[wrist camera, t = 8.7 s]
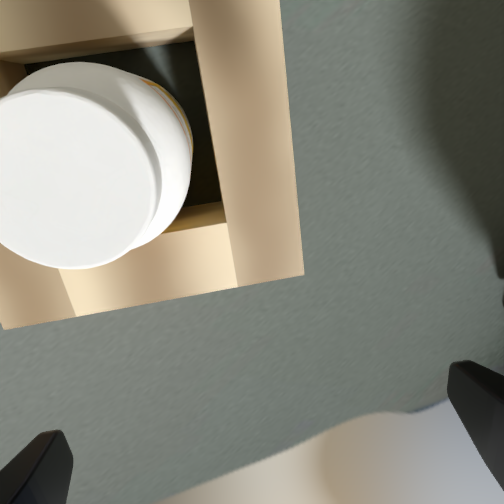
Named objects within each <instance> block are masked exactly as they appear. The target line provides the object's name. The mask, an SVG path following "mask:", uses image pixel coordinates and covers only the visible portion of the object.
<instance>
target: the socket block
mask: <svg viewBox="0 0 504 504" xmlns="http://www.w3.org/2000/svg"><path fill="white" fill-rule="evenodd" d="M188 41H194V43H195V48H196V54H197V60H198V66H199V71H200V77H201V83H202V89H203V94H204V100H205V106H206V112H207V118H208V123H209V129H210V135H211V141H212V146H213V152H214V158H215V164H216V169H217V175H218V181H219V187H220V193H221V198H222V201H219V202H214V203H208V204H202V205H196V206H190V207H184V208H181V209H180V211H179V212H178V214H177V216H176V217H175V219H174V220H173V221H172V223H171V224H170V225H169V226H168V227H167V228H166V229H165V230H164V231H163V232H162V233H161V234H159V235H158V236H157V237H156V238H154V239H153V240H151V241H149V242H148V243H146V244H144V245H142V246H139V247H137V248H134V249H131V250H129V251H128V252H127V253H126V254H124V255H123V256H121V257H119V258H118V259H116V260H114V261H112V262H109V263H107V264H104V265H101V266H97V267H93V268H88V269H60V268H53V267H49V266H44V265H41V264H38V263H35V262H32V261H30V260H27V259H25V258H23V257H22V256H20V255H18V254H16V253H14V252H13V251H11V250H9V249H8V248H6V247H5V246H4V245H2V244H1V243H0V322H1V324H2V326H3V328H4V330H7V329H12V328H18V327H23V326H28V325H34V324H39V323H45V322H50V321H56V320H61V319H66V318H72V317H77V316H83V315H88V314H94V313H99V312H105V311H110V310H115V309H121V308H126V307H132V306H137V305H143V304H148V303H153V302H159V301H164V300H170V299H175V298H181V297H186V296H191V295H197V294H202V293H208V292H213V291H219V290H224V289H229V288H235V287H240V286H246V285H251V284H257V283H262V282H267V281H273V280H278V279H284V278H289V277H295V276H300V275H304V266H303V255H302V244H301V233H300V222H299V211H298V200H297V189H296V178H295V167H294V156H293V145H292V134H291V123H290V112H289V101H288V90H287V79H286V68H285V57H284V46H283V35H282V24H281V13H280V2H279V0H0V98H2V97H4V96H6V95H7V94H8V93H9V91H11V90H12V89H13V88H14V87H15V86H16V85H17V84H18V83H19V82H20V81H22V80H23V79H24V78H26V77H27V76H28V75H27V72H26V69H25V67H24V64H29V63H36V62H44V61H51V60H58V59H65V58H73V57H80V56H87V55H94V54H101V53H109V52H116V51H123V50H130V49H137V48H145V47H152V46H159V45H166V44H174V43H181V42H188Z"/></svg>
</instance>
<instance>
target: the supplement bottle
mask: <svg viewBox="0 0 504 504" xmlns="http://www.w3.org/2000/svg"><path fill="white" fill-rule="evenodd" d="M192 155H193V137H192V131H191V127H190V124H189V121H188V119H187V116H186V114H185V112H184V110H183V109H182V107H181V106H180V104H179V103H178V102H177V100H176V99H175V98H174V97H173V96H172V95H171V94H170V93H169V92H168V91H167V90H165V89H164V88H163V87H161V86H160V85H158V84H156V83H154V82H153V81H151V80H149V79H146V78H143V77H141V76H138V75H134V74H131V73H128V72H126V71H123V70H120V69H117V68H114V67H111V66H107V65H102V64H97V63H88V62H69V63H61V64H56V65H53V66H49V67H46V68H43V69H41V70H38V71H36V72H34V73H32V74H31V75H29V76H27V77H26V78H24V79H23V80H22V81H20V82H19V83H18V84H17V85H16V86H15V87H14V88H13V89H12V90H11V91H9V93H8V94H7V95H6V96H4V97H2V98H0V243H1V244H2V245H4V246H5V247H6V248H8V249H9V250H11V251H13V252H14V253H16V254H18V255H20V256H22V257H23V258H25V259H27V260H30V261H32V262H35V263H38V264H41V265H44V266H49V267H53V268H60V269H88V268H93V267H97V266H101V265H104V264H107V263H109V262H112V261H114V260H116V259H118V258H119V257H121V256H123V255H124V254H126V253H127V252H128V251H129V250H131V249H134V248H137V247H139V246H142V245H144V244H146V243H148V242H149V241H151V240H153V239H154V238H156V237H157V236H158V235H159V234H161V233H162V232H163V231H164V230H165V229H166V228H167V227H168V226H169V225H170V224H171V223H172V221H173V220H174V219H175V217H176V216H177V214H178V212H179V211H180V209H181V207H182V205H183V202H184V200H185V197H186V195H187V191H188V187H189V184H190V176H191V165H192Z"/></svg>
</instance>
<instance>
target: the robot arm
mask: <svg viewBox="0 0 504 504" xmlns="http://www.w3.org/2000/svg"><path fill="white" fill-rule="evenodd" d="M447 393H448V397H449V399H450V401H451V403H452V405H453V407H454V408H455V410H456V412H457V414H458V416H459V418H460V419H461V421H462V423H463V425H464V427H465V428H466V430H467V432H468V434H469V435H470V437H471V439H472V441H473V443H474V445H475V446H476V448H477V450H478V452H479V454H480V455H481V457H482V459H483V460H484V462H485V464H486V465H487V467H488V468H489V470H490V471H491V473H492V474H493V476H494V477H495V479H496V480H497V481H498V483H499V484H500V486H501V487H502V489H503V491H504V376H503V375H501V374H499V373H497V372H494V371H492V370H490V369H488V368H486V367H484V366H482V365H480V364H477V363H475V362H473V361H471V360H463V361H457V362H453V363H451V365H450V368H449V376H448V384H447ZM72 469H73V455H72V452H71V450H70V447H69V445H68V443H67V440H66V438H65V436H64V433H63V432H62V431H61V430H52V431H46V432H42V433H40V434H39V435H37V436H36V437H35V438H34V439H33V440H32V441H31V442H30V443H29V444H28V445H27V446H26V447H25V448H24V449H23V450H22V451H21V452H20V453H18V454H17V455H16V456H15V457H14V458H13V459H12V460H11V461H10V462H9V463H8V464H7V465H6V466H5V467H4V468H3V469H2V470H1V471H0V504H66V500H67V495H68V490H69V485H70V480H71V474H72Z"/></svg>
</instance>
